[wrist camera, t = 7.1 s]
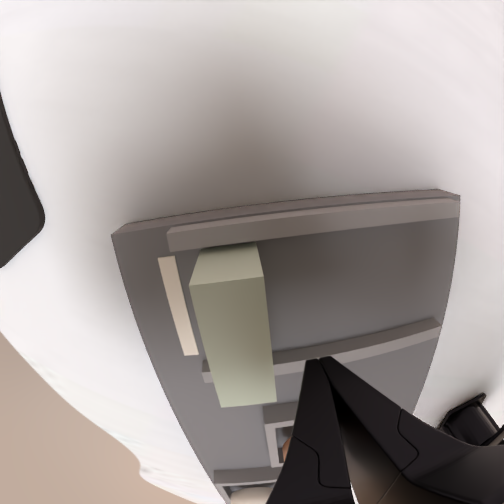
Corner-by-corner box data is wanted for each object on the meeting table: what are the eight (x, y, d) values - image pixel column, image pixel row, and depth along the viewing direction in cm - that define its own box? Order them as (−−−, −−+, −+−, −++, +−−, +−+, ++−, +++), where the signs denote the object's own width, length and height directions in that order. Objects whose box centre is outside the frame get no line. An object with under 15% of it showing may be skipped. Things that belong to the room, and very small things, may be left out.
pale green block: (255, 241, 12) (263, 276, 9) (268, 351, 14) (277, 401, 11) (200, 248, 12) (188, 285, 9) (222, 356, 14) (221, 407, 11)
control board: (439, 189, 14) (477, 200, 11) (380, 454, 24) (390, 476, 21) (125, 224, 14) (97, 244, 11) (221, 482, 24) (221, 507, 20)
